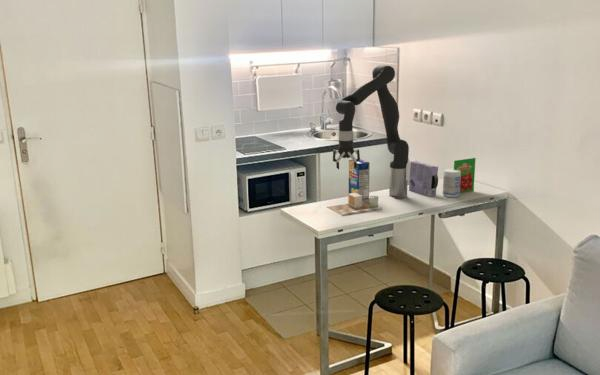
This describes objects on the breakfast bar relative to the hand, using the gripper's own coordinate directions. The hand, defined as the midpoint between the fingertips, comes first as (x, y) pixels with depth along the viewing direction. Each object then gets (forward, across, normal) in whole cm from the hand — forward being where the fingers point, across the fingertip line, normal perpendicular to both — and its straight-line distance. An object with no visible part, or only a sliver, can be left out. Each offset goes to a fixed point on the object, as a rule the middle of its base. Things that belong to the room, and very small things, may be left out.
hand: (346, 168), depth 345 cm
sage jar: (+21, -14, +4) cm, 25 cm away
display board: (+22, -4, +5) cm, 22 cm away
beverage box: (+22, -7, -16) cm, 28 cm away
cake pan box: (+23, -45, -28) cm, 58 cm away
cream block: (+20, -4, 0) cm, 21 cm away
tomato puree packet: (+23, -68, -28) cm, 77 cm away
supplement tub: (+23, -60, -23) cm, 68 cm away
